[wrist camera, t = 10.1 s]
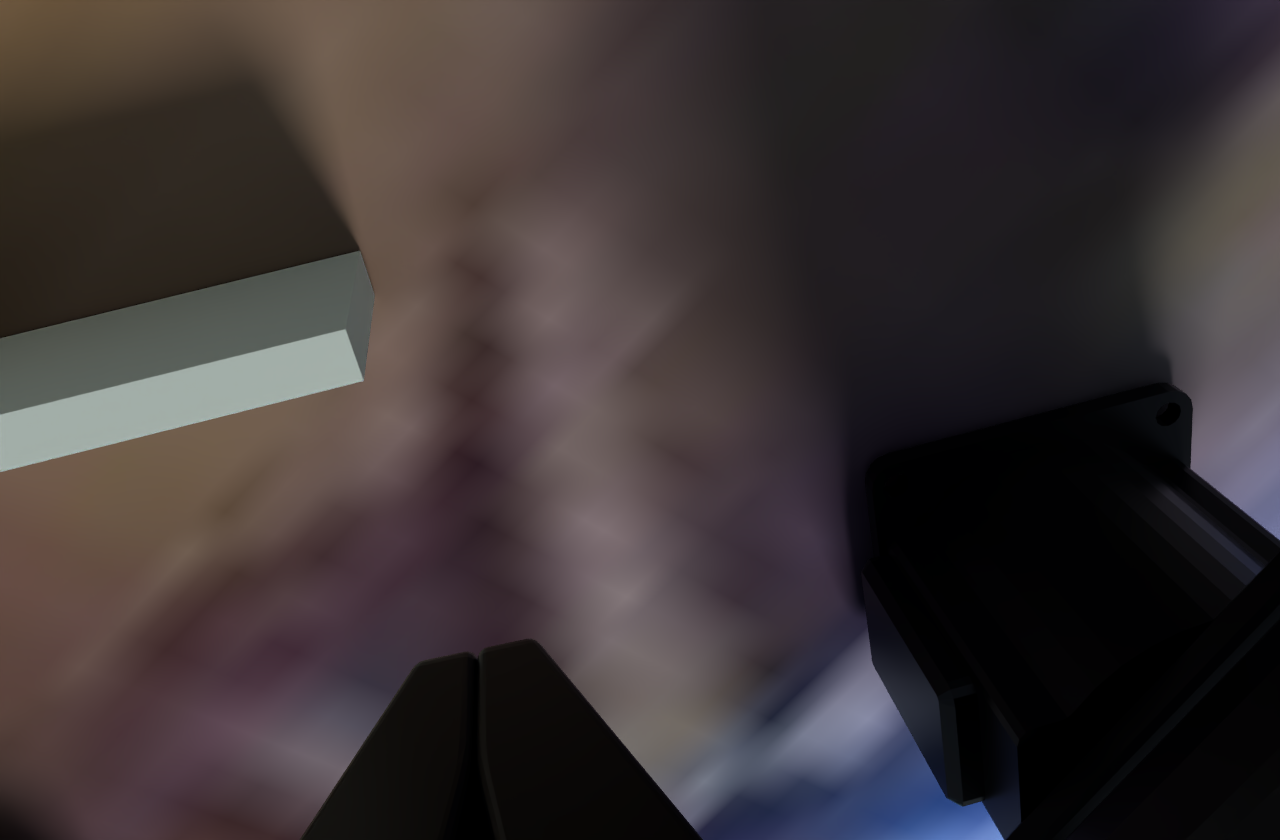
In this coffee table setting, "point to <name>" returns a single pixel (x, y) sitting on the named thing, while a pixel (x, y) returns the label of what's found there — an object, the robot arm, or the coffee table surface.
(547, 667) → the robot arm
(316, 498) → the coffee table surface
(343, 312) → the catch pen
